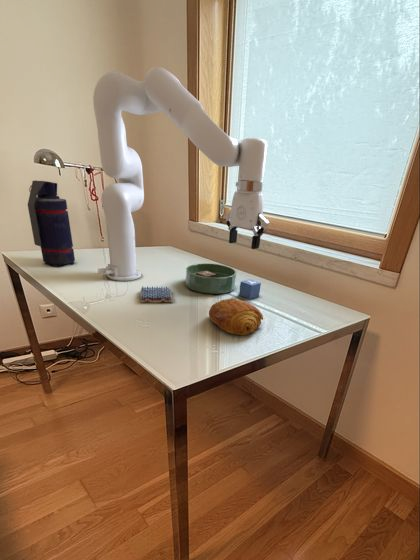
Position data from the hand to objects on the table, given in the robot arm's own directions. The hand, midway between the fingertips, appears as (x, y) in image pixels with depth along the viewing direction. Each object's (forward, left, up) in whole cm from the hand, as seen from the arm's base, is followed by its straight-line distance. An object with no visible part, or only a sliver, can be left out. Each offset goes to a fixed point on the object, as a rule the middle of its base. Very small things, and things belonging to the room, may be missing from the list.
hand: (243, 245), depth 105 cm
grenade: (-37, +66, -17) cm, 78 cm away
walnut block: (-6, +11, -16) cm, 20 cm away
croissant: (-20, -17, -17) cm, 31 cm away
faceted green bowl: (-3, +11, -17) cm, 20 cm away
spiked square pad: (-26, +13, -17) cm, 33 cm away
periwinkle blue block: (+2, -4, -17) cm, 17 cm away
